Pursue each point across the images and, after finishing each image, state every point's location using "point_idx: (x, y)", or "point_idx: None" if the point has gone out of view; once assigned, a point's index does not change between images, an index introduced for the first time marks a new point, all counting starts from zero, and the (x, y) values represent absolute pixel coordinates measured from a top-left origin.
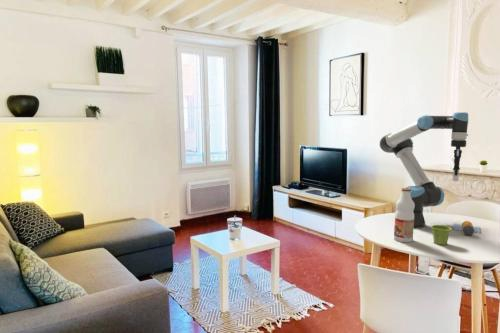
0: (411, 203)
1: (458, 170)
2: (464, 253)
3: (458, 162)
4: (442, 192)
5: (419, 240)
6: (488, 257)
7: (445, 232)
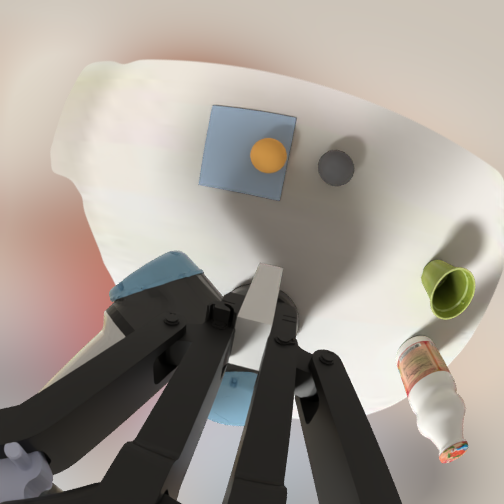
0: (464, 410)
1: (270, 325)
2: (488, 234)
3: (366, 438)
4: (163, 272)
5: (416, 319)
6: (500, 187)
7: (469, 284)
